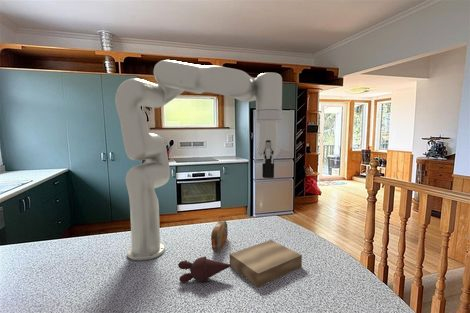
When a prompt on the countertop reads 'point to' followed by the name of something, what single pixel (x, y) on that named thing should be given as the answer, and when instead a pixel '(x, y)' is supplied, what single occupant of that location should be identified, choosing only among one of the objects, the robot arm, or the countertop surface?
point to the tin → (219, 236)
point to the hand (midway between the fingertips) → (268, 174)
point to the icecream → (201, 269)
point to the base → (265, 262)
